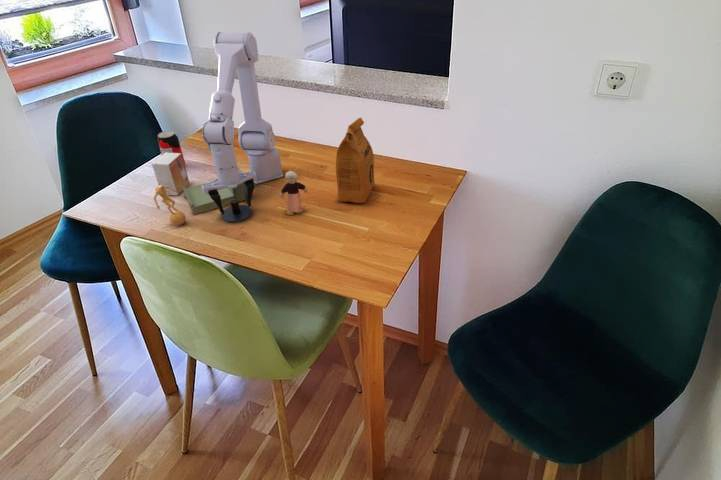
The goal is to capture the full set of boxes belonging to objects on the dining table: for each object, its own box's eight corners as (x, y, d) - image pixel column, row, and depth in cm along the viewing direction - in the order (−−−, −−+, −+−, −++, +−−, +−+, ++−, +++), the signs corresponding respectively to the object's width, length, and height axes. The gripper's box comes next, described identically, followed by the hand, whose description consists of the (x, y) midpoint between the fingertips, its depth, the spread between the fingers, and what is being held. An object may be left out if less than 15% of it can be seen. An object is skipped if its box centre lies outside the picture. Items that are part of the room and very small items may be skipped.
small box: (177, 196, 145) (168, 164, 138) (161, 195, 146) (150, 163, 139) (190, 183, 151) (181, 152, 145) (174, 182, 152) (165, 151, 146)
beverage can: (189, 165, 161) (180, 132, 154) (174, 173, 157) (164, 139, 150) (177, 161, 164) (167, 128, 157) (162, 169, 159) (151, 135, 152)
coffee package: (380, 186, 145) (378, 117, 132) (365, 207, 135) (362, 135, 122) (349, 182, 148) (345, 113, 135) (333, 202, 138) (327, 130, 126)
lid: (246, 203, 140) (244, 190, 137) (256, 217, 134) (253, 203, 131) (218, 211, 137) (215, 198, 134) (226, 226, 131) (223, 212, 128)
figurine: (176, 233, 129) (163, 194, 121) (157, 230, 130) (144, 191, 123) (194, 217, 135) (183, 179, 128) (176, 214, 137) (164, 176, 129)
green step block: (239, 181, 151) (236, 164, 147) (251, 198, 142) (248, 180, 139) (185, 196, 145) (180, 178, 141) (194, 214, 136) (189, 196, 132)
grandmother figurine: (286, 218, 132) (279, 178, 125) (281, 212, 135) (274, 172, 128) (311, 210, 135) (307, 170, 128) (306, 204, 138) (301, 165, 131)
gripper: (202, 178, 120) (213, 223, 128) (257, 163, 126) (265, 207, 134) (195, 167, 125) (207, 211, 133) (248, 153, 131) (256, 196, 139)
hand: (235, 208), depth 134 cm, fingers open, 7 cm apart
